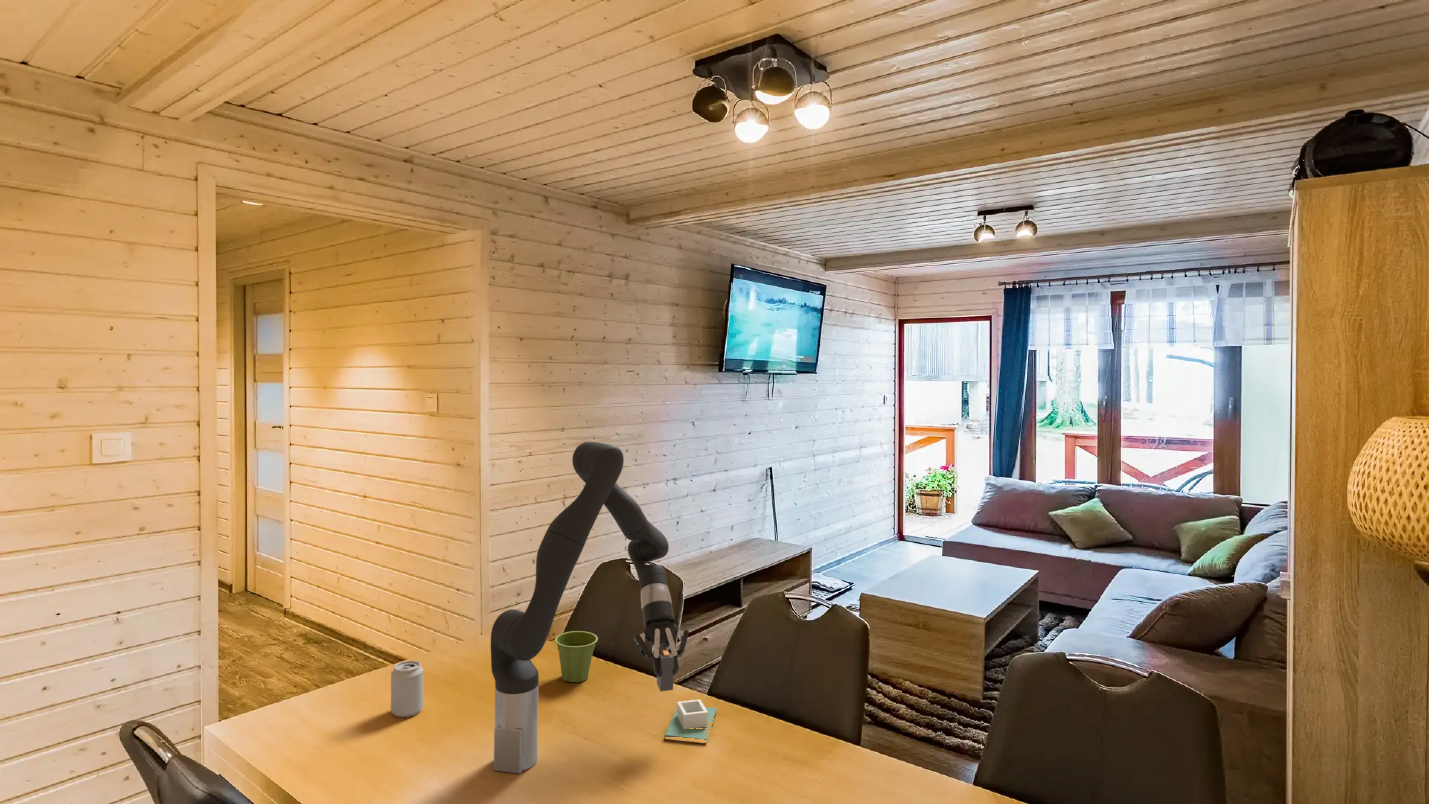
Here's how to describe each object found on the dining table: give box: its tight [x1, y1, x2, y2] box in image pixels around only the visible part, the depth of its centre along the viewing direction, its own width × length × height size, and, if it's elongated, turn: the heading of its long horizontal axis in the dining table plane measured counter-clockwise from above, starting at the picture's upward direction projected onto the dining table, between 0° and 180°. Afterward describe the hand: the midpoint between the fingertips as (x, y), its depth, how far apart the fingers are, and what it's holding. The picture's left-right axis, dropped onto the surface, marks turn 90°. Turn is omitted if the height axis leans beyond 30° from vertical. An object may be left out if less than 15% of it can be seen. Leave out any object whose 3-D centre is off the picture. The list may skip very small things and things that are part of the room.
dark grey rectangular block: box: [656, 649, 674, 692], centre depth 172 cm, size 4×3×8 cm
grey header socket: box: [676, 699, 708, 729], centre depth 179 cm, size 7×6×4 cm
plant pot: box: [554, 630, 599, 683], centre depth 204 cm, size 12×12×11 cm
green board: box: [664, 706, 718, 740], centre depth 179 cm, size 16×10×1 cm, turn 171°
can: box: [390, 660, 424, 718], centre depth 182 cm, size 8×8×12 cm
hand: (667, 674), depth 170 cm, fingers closed on dark grey rectangular block, 3 cm apart
